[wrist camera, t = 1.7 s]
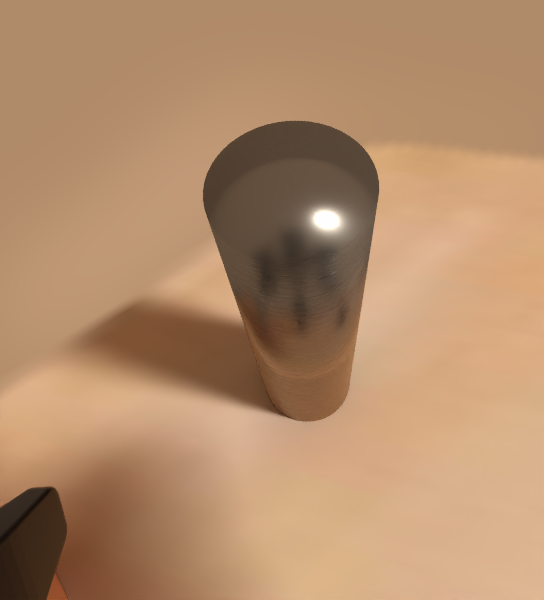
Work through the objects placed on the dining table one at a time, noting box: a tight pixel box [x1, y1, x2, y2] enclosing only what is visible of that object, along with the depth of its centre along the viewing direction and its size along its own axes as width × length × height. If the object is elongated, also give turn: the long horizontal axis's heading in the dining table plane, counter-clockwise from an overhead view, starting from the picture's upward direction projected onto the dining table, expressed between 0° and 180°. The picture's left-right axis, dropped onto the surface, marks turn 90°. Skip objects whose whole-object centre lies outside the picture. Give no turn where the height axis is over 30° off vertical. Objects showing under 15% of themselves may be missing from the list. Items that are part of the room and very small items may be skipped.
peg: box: [203, 121, 379, 421], centre depth 16 cm, size 4×4×13 cm
